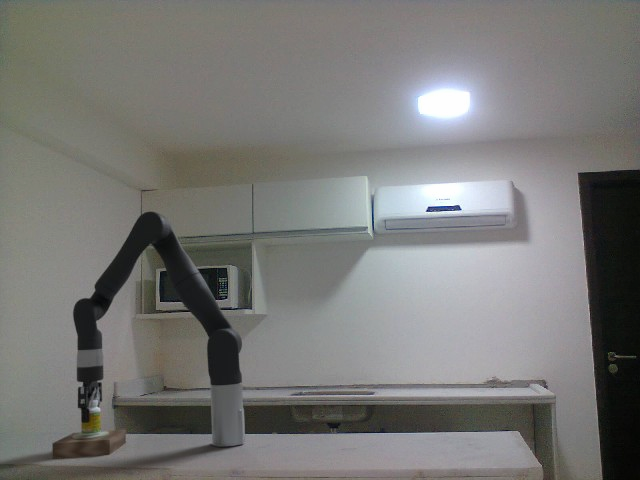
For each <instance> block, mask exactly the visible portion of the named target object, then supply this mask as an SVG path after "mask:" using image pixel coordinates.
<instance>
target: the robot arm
mask: <svg viewBox="0 0 640 480" xmlns="http://www.w3.org/2000/svg"><path fill="white" fill-rule="evenodd" d="M130 230H131V231H130V232H129V234H128V235H127V237H126V239H125V241H124V242H123V244H122V246H121V247H120V249H119V250H118V252H117V254H116V255H115V257H114V258H113V260H112V261H111V262H110V264H109V265H108V266H107V268H106V269H105V270H104V271H103V273H102V274H101V276H99V278H98V279H97V280H96V282H95V284H94V286H93V287H94V288H93V289H94V292H93V293H92V294H91V296H90V297H88V298H87V297H85V298H80V299H79V300H78V301H76V303H75V304H74V306H73V311H72V316H73V323H74V328H75V331H76V335H77V342H76V343H77V344H76V345H77V347H76V348H77V353H76V382H78V383H82V386H78V388H77V408H78V409H80V413H81V416H80V417H81V418H80V419H81V420H80V421H81V422H82V423H88V422H89V421H90V404H91V403H92V402H93V400H98V405H97V407H99V408H100V405H101V403H102V401H103V386H102V381H103V380H104V353H103V352H104V351H103V334H102V331H101V330H99V329H98V325H97V321H99V320H101V319H103V317H104V316H105V315H106V314H107V312H108V310H110V306H111V305H112V303H113V301H114V299H115V297H116V296H117V294H118V293H119V291H121V289H122V288H123V287H124V285H125V284H126V283H127V281H128V279H129V278H130V277H131V275H132V272H133V270H134V268H135V266H136V264H137V262H138V260H139V258H140V256H141V255H142V254H143V252H144V251H145V250H146V249H147V248H148V247H149V246H152V247H153V248H154V250H155V251H156V253H158V255H159V256H160V258H161V260H162V262H163V265H164V269H165V270H166V271H165V272H166V275H167V278H168V281H169V283H170V285H171V287H172V288H173V290H174V293H175V294H176V295H177V297H178V299H179V300H180V302H181V304H183V306H184V307H185V308H186V309H187V310H188V311H189V312H190V314H192V315H193V317H195V319H196V320H197V321H198V322H199V323H200V325H201V326H202V327H203V329H204V331H205V332H206V334H207V337H208V340H207V342H206V344H207V345H206V352H207V353H206V354H207V355H206V356H207V358H206V359H207V370H208V371H207V373H208V376H209V380H210V412H211V441H212V446H214V447H233V446H234V447H235V446H238V445H244V443H245V442H246V432H245V431H246V430H245V429H246V428H245V427H246V426H245V409H244V405H243V404H244V402H243V401H244V399H243V375H242V372H241V369H240V368H241V367H240V353H241V350H242V348H243V342H242V341H243V340H242V338H241V336H240V334H239V333H238V331H237V330H236V328H235V327H234V326H233V324H232V323H231V322H230V321H229V320H228V318H227V317H226V316H225V314H224V312H222V309H221V308H220V306H219V304H218V303H217V300H216V298H215V297H214V294H213V292H212V291H211V288H209V285H208V284H207V282H206V280H205V279H204V277H203V275H202V274H201V272H200V270H199V269H198V268H197V266H196V264H195V263H194V262H193V260H192V259H191V258H190V256H189V255H188V253H187V252H186V250H184V248H183V245H181V243H180V240H179V239H178V237H177V234H176V232H175V230H174V228H173V226H172V224H171V221H170V220H169V219H168V217H166V216H164V215H162V214H160V213H158V212H156V211H145V212H143V213H142V214H141V215H139V217H137V219H136V221H135V223H134V224H133V226H132V228H131V229H130ZM84 403H85V404H84Z"/></svg>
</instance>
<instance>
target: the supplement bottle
mask: <svg viewBox="0 0 640 480" xmlns="http://www.w3.org/2000/svg"><path fill="white" fill-rule="evenodd" d="M84 404H85V403H84ZM97 405H98V400H93V402H92V403H91V404H90V421H89V422H88V423H82V422H81V423H80V425H81V426H80V427H81V429H80V430H81V434H82V435H83V436H90V435H97V434H100V433H101V431H102V430H101V429H102V428H101V426H102V424H101V423H102V420H101V419H102V417H101V416H102V415H101V413H102V412H101V411H102V410H101V408H100V406H99V407H97Z"/></svg>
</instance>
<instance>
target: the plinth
mask: <svg viewBox="0 0 640 480" xmlns="http://www.w3.org/2000/svg"><path fill="white" fill-rule="evenodd" d="M126 437H127V431H126V429H115V430H101V433H100V434H97V435H90V436H83V435H82V434H81V432H72V433H71V434H68V435H67V436H65V437H63V438H61V439H58V440H57V441H54V442H53V443H52V449H51V450H52V459H55V458H56V459H57V457H61V458H75V457H89V456H91V457H92V456H105V455H106V456H107V455H111V454H112V453H113V452H115V451H116V450H118V449H120V448H121V447H122V446H124V445H125V444H126V443H127V441H126V440H127V438H126ZM123 444H124V445H123Z"/></svg>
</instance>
